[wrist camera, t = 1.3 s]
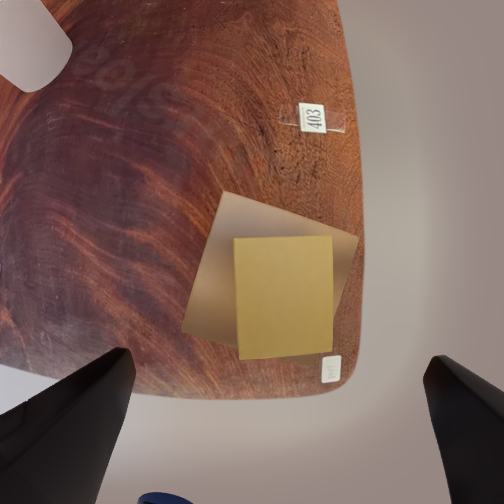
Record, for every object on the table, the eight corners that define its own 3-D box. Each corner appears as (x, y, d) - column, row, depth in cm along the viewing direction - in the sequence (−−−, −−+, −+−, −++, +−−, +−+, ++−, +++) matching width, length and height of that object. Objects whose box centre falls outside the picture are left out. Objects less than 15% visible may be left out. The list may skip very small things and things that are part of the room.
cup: (35, 42, 22) (-24, -22, 6) (83, 32, 22) (27, -51, 6) (10, 95, 22) (-69, 42, 6) (55, 89, 22) (-27, 14, 7)
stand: (286, 327, 25) (315, 368, 16) (197, 300, 24) (179, 331, 15) (315, 238, 25) (360, 236, 16) (225, 208, 24) (223, 189, 15)
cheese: (309, 326, 16) (332, 351, 12) (236, 332, 16) (239, 360, 12) (307, 236, 16) (332, 234, 12) (232, 239, 15) (233, 237, 11)
